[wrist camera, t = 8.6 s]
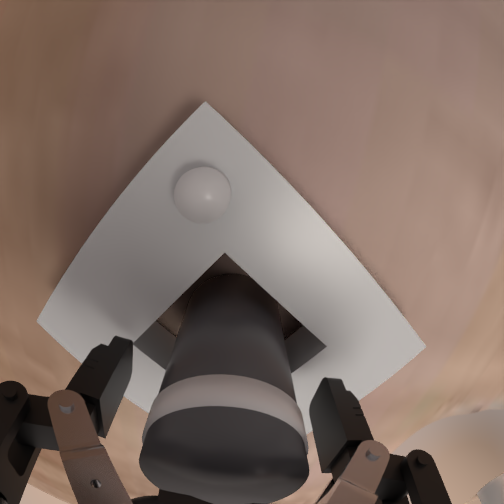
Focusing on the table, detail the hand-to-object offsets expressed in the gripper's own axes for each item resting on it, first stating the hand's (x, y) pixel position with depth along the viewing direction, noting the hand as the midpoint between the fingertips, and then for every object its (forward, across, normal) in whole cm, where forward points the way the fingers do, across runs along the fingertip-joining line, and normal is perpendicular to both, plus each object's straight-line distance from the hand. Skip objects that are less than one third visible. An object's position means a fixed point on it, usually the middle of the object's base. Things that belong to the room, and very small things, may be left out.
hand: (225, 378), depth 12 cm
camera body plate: (+5, 0, 0) cm, 5 cm away
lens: (+5, 0, 0) cm, 5 cm away
